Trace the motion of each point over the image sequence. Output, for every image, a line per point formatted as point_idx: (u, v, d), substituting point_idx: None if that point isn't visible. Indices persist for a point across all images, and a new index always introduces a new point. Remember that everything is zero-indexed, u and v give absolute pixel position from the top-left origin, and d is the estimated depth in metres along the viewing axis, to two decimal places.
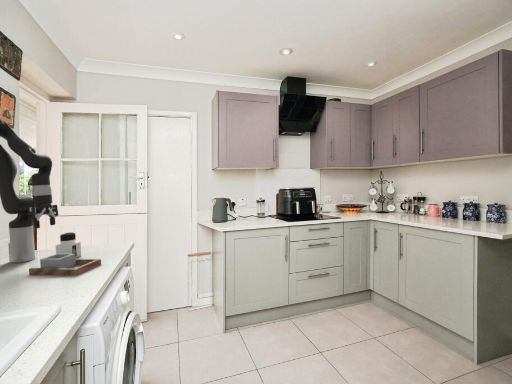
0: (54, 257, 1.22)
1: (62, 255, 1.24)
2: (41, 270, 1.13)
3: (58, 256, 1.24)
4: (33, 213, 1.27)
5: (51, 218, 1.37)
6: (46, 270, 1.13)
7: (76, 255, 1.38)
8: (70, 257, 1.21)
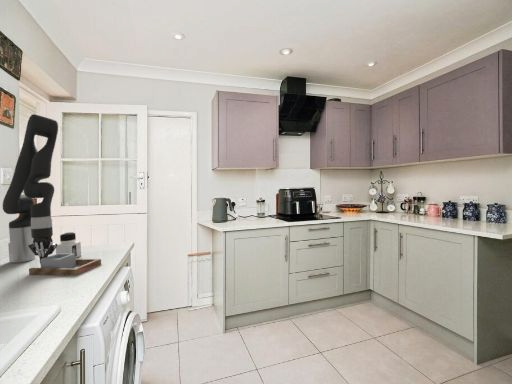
0: (54, 257, 1.22)
1: (62, 255, 1.24)
2: (41, 270, 1.13)
3: (58, 256, 1.24)
4: None
5: None
6: (46, 270, 1.13)
7: (76, 255, 1.38)
8: (70, 257, 1.21)
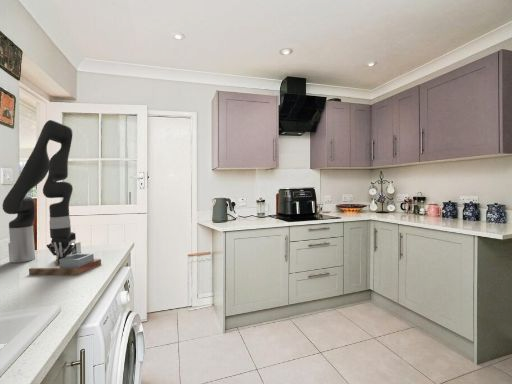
0: (73, 258, 1.22)
1: (80, 255, 1.23)
2: (41, 270, 1.13)
3: (76, 256, 1.23)
4: None
5: None
6: (46, 270, 1.13)
7: None
8: (89, 257, 1.21)
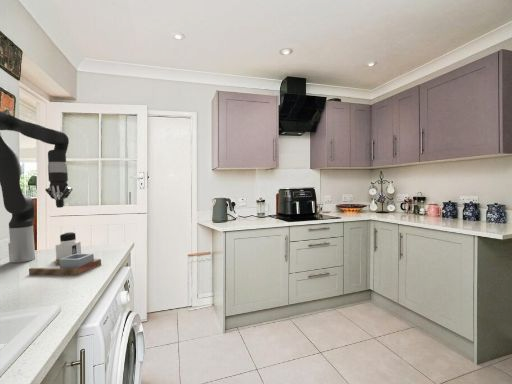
0: (73, 258, 1.22)
1: (80, 255, 1.23)
2: (41, 270, 1.13)
3: (76, 256, 1.23)
4: None
5: None
6: (46, 270, 1.13)
7: None
8: (89, 257, 1.21)
